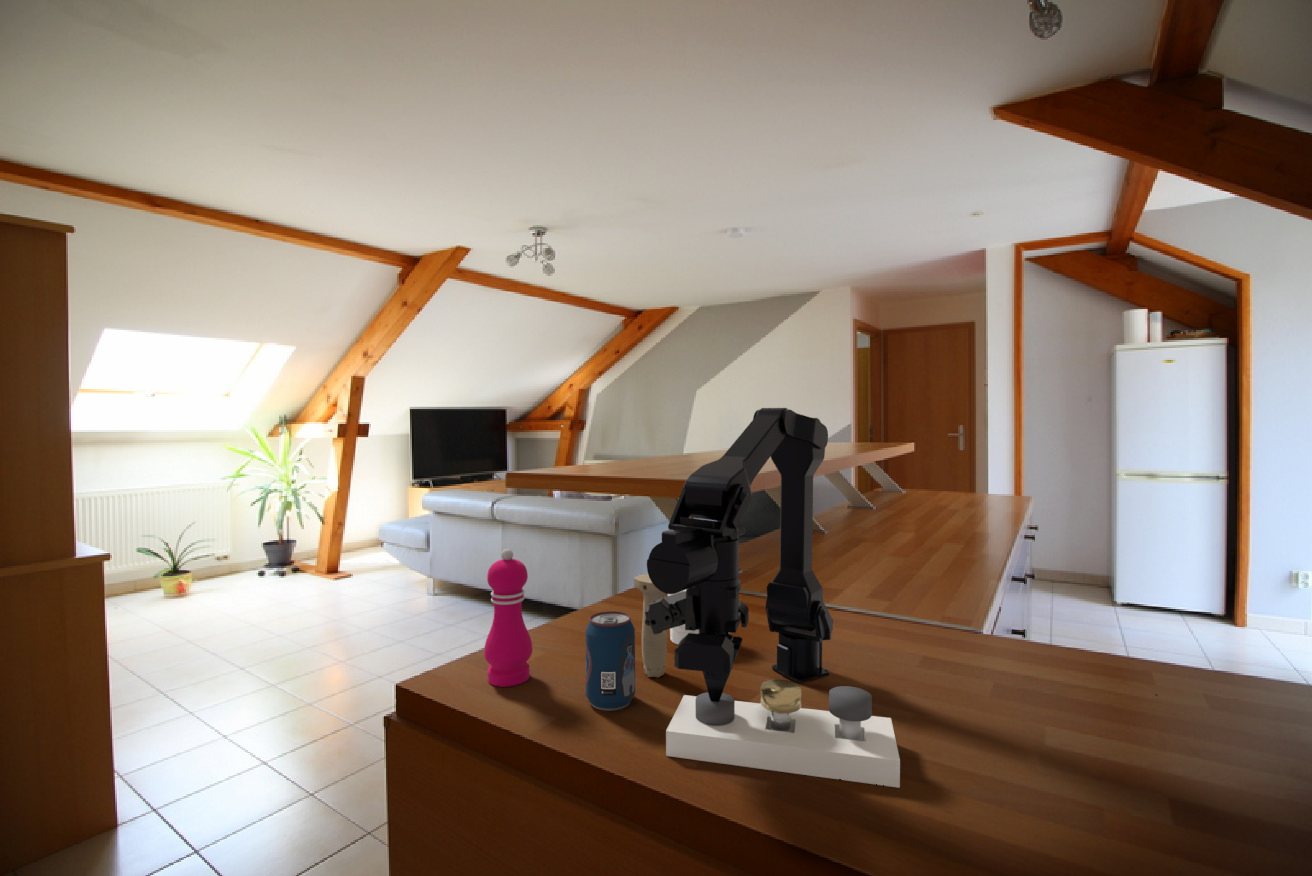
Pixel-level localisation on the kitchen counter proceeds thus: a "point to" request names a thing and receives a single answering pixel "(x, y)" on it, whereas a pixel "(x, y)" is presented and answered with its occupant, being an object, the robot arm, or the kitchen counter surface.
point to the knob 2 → (850, 709)
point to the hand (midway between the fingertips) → (715, 700)
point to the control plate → (788, 743)
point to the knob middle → (780, 701)
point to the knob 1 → (715, 709)
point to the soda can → (610, 660)
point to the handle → (651, 643)
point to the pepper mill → (507, 624)
